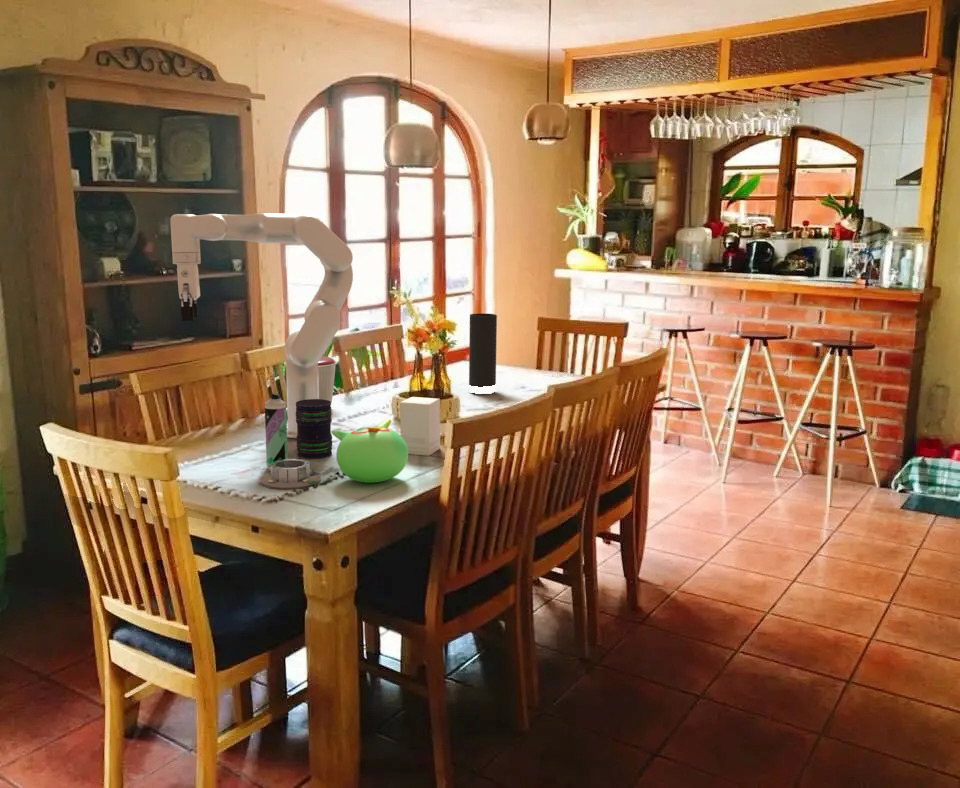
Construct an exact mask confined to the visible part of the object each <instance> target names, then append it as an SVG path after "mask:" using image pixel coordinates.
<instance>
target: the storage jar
mask: <svg viewBox="0 0 960 788" xmlns="http://www.w3.org/2000/svg"><path fill="white" fill-rule="evenodd" d="M331 421H332V403H331V401H329V400H323V399H307V400H301V401H298V402H296V423H297V438H295V440H296V451H297V454H296V455H297V457H298V458H300V459H302V460H305V459H306V460H321V459H326V458H329V457H331V456H332V455H333V451H332V449H333V434H332V426H331V425H332V423H331Z"/></svg>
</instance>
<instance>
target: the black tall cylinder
mask: <svg viewBox="0 0 960 788" xmlns="http://www.w3.org/2000/svg"><path fill="white" fill-rule="evenodd" d="M497 325H498V315H497V314H495V313H470V314H469V343H468V344H469V349H468V350H469V352H468V353H469V359H468V361H469V362H468V386H469V385H471V386H478V387H483V386H492V385H495V384H497V331H498V330H497V329H498V327H497Z"/></svg>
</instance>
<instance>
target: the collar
mask: <svg viewBox="0 0 960 788" xmlns="http://www.w3.org/2000/svg"><path fill="white" fill-rule="evenodd" d="M270 465H271V470H270V472H268V473H267V472H266V473H265V474H263V475H261V476H260V478H259V483H260V485H261V486H262V487H265V488H268V489H274V490H295V489H294V488H299V489H303V487H305V488H308V487H313V486H314V485H317V484H318V483H320V482H321V479H322V476H321V474H320V473H319V472H317V471H314V470H312V469H311V468H310V467H311V466H310V465H311V464H310V461H308V460H307V459H306V460H305V459H302V458H300V459H299V458H288V459H284V460H279V461H275V462H273V463H272V464H270Z"/></svg>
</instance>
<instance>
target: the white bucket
mask: <svg viewBox="0 0 960 788" xmlns="http://www.w3.org/2000/svg"><path fill="white" fill-rule="evenodd" d="M337 364H338V361H337V360H335V359H333V357H331V356H330V357H329V356H325V355H323V356H322V358H321V359H320V360H319V362H318V377H319V399H323V400H329V401H331V404H332V402H333V394H334V388H335V387H334V386H335V374H336V365H337ZM283 365H284V366H285V367H286V362H285V361H284V362H283Z"/></svg>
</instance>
